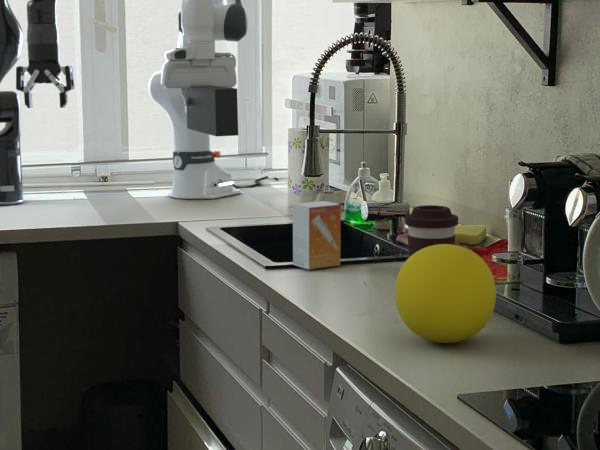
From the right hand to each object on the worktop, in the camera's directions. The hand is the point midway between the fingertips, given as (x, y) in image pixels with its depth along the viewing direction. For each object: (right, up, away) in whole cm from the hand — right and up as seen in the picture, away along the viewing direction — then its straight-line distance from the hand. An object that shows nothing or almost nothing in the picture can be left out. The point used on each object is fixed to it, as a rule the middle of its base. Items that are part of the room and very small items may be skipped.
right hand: (199, 104), depth 281 cm
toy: (+49, -50, -120) cm, 139 cm away
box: (+4, -8, -9) cm, 12 cm away
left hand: (-37, -3, -18) cm, 41 cm away
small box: (+30, -41, -64) cm, 82 cm away
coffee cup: (+52, -44, -83) cm, 108 cm away
